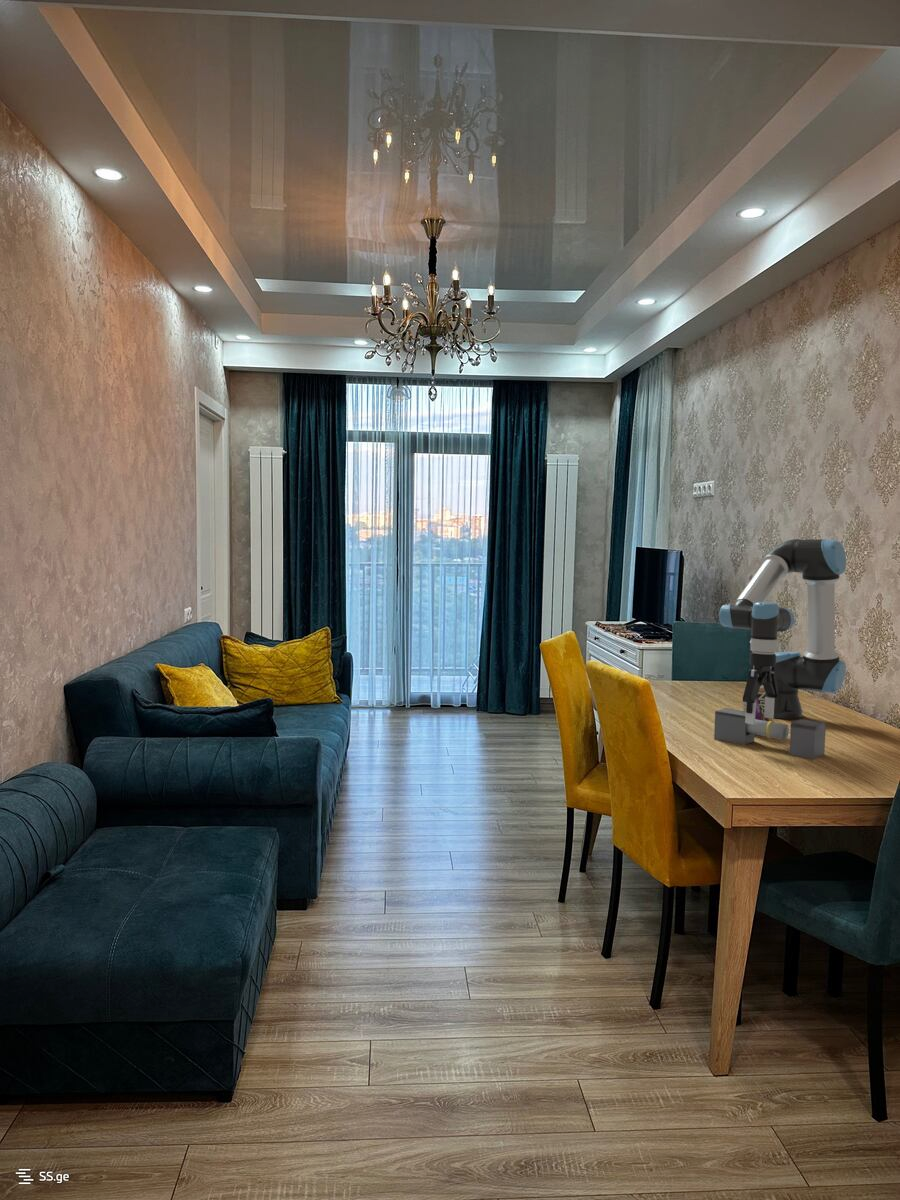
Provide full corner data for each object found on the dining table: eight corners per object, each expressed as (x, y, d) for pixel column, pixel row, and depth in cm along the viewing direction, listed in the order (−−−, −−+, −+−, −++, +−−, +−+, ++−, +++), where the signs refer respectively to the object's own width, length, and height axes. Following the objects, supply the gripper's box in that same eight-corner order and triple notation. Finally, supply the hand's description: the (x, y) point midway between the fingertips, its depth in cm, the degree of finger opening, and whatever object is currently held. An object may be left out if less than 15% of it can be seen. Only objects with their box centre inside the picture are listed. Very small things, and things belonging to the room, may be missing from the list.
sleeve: (714, 739, 252) (715, 711, 252) (724, 735, 257) (725, 708, 257) (744, 745, 245) (745, 716, 245) (754, 741, 250) (755, 713, 250)
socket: (789, 754, 235) (790, 722, 234) (800, 749, 241) (801, 718, 240) (813, 759, 230) (815, 727, 229) (824, 754, 236) (825, 722, 235)
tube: (718, 730, 252) (719, 714, 252) (726, 727, 256) (726, 711, 255) (781, 742, 238) (782, 725, 238) (788, 739, 242) (789, 722, 241)
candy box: (765, 731, 264) (767, 686, 263) (773, 734, 260) (775, 688, 259) (741, 732, 262) (743, 686, 261) (749, 735, 258) (751, 689, 257)
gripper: (768, 648, 255) (764, 713, 256) (733, 654, 237) (729, 724, 239) (791, 651, 250) (787, 717, 251) (757, 656, 232) (753, 728, 233)
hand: (759, 720), depth 245 cm, fingers open, 13 cm apart
